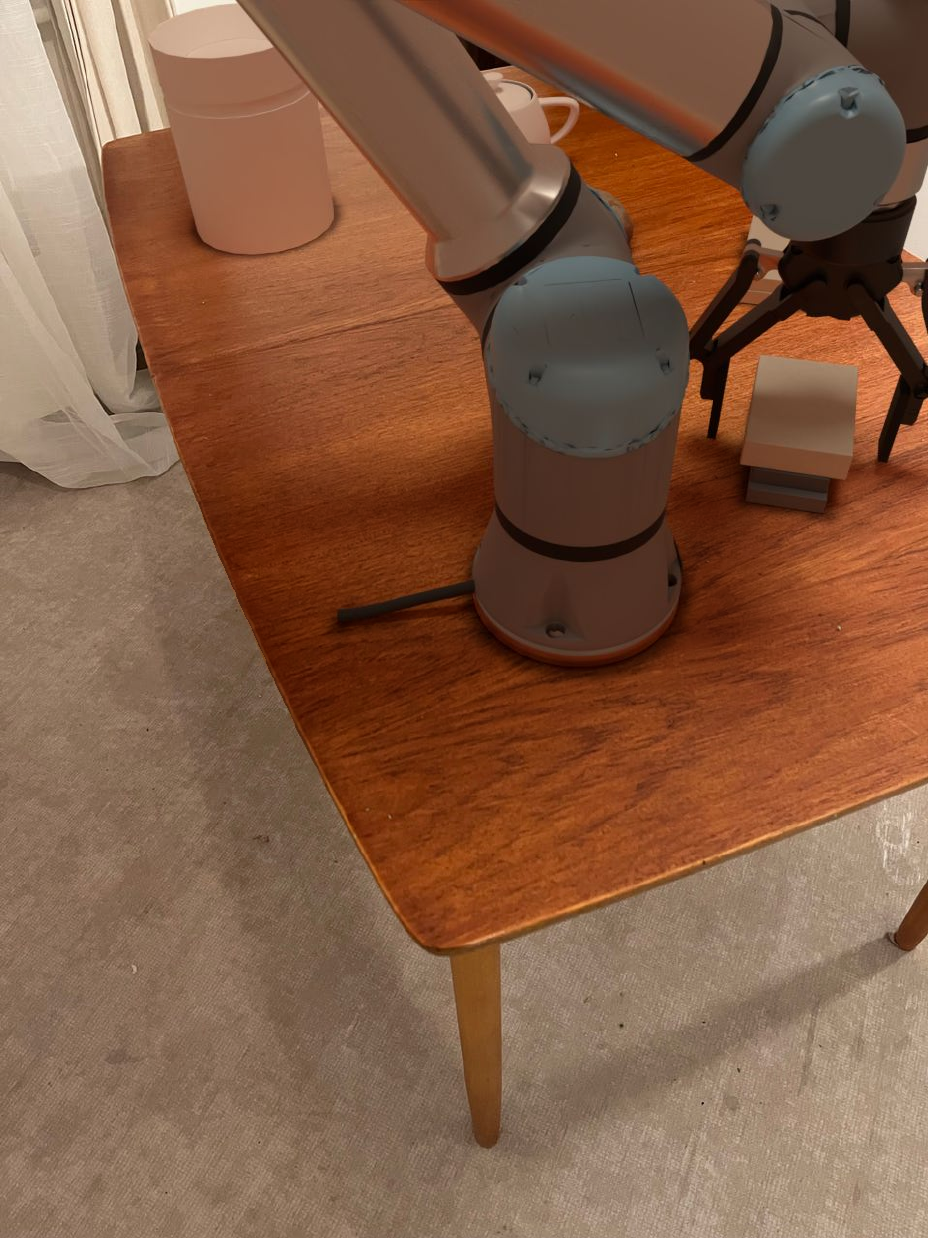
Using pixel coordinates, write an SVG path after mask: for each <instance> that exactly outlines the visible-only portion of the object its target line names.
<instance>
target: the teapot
mask: <svg viewBox="0 0 928 1238" xmlns="http://www.w3.org/2000/svg"><path fill="white" fill-rule="evenodd" d="M482 75H483V76H484V78H485V79H486V81H487V82H488V83H489V85H490V86H491V88H492V89H493V91H494V92H495V94H496V95H497V97H498V98H499V100H500V101H501V103H502V104H503V105H504V107H505V108H506V110H507V111H508V113H509V114H510V116H511V117H512V119H513V120H514V122H515V123H516V125H517V126H518V128H519V129H520V130H521V132H522V133H523V135H524V136H525V138H526V139H527V141H528V142H529V143H537V144H552V145H557V144H558V143H559V142H561V141H562V140H563V139H565V137H567V136H568V135H569V133H570V132H572V130H573V129H574V127H575V125H577V122H578V119H579V116H580V104H579V102H578V101H577V100H576V99H574V98H572V97H570V96H550V97H549V96H547V97H538V95H537V93H536V91H535V89H534V88H533V87H531V86H530V85H528V84H526V83H524V82H521V81H517V80H513V79H506V78H505V79H504V75H503V74H502V73H501V72H496V71H491V72H486V73H483V74H482ZM554 106H563V107H568V108H569V109H570V110H569V115H568V118H567V120H566V121H565V123H564V124H563V126H561V128H560V129H559V130H558V131H556V133H554V134H553V135H551V132H550V126H549V122H548V119H547V116H546V113H545V111H544V107H554Z"/></svg>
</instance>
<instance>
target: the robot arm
mask: <svg viewBox="0 0 928 1238" xmlns="http://www.w3.org/2000/svg"><path fill="white" fill-rule="evenodd" d="M235 2H236V3H238V4H239V5H240V6H241V8H242V9H243V10H244V11H245V13H246V14H247V15H248V16H249V17H250V19H251V20H252V21H253V22H254V24H255V25H256V26H257V27H258V28H259V30H260V31H261V32H262V33H263V35H264V36H265V37H266V38H267V39H268V41H269V42H270V43H271V44H272V45H273V47H274V48H275V49H276V50H277V52H278V53H279V54H280V55H281V56H282V58H283V59H284V60H285V61H286V63H287V64H288V65H289V66H290V67H291V69H292V70H293V71H294V72H295V73H296V75H297V76H298V77H299V78H300V80H301V81H302V82H303V83H304V84H305V86H306V87H307V88H308V89H309V91H310V92H311V93H312V94H313V95H314V97H315V98H316V99H317V100H318V104H319V105H321V107H322V108H323V109H324V110H325V112H327V114H328V115H329V116H330V118H331V119H332V120H333V121H334V123H335V124H336V125H337V126H338V127H339V128H340V130H341V131H342V132H343V133H344V134H345V136H346V137H347V138H348V139H349V141H350V142H351V143H352V144H353V145H354V147H355V148H356V149H357V150H358V151H359V153H360V154H361V155H362V157H363V158H364V159H365V160H366V161H367V163H368V164H369V165H370V166H371V167H372V169H373V170H374V171H375V172H376V174H377V175H378V176H379V178H381V179H382V181H383V182H384V183H385V185H387V187H388V188H389V189H390V190H391V192H392V193H393V194H394V195H395V197H396V198H397V199H398V200H399V201H400V203H401V204H402V206H403V207H405V209H406V210H407V211H408V213H409V214H410V215H411V216H412V218H414V220H415V221H416V222H417V223H418V225H419V226H420V227H421V228H422V230H423V231H424V232H425V234H427V235H426V244H425V251H424V252H425V253H424V263H425V267H426V269H427V271H428V272H429V273H430V275H431V276H432V277H433V278H434V280H435V281H436V282H437V283H438V285H440V287H441V288H442V289H443V291H445V293H446V294H447V295H448V296H449V298H451V300H452V301H453V302H454V304H456V306H457V307H458V308H459V309H460V310H461V312H462V313H463V315H465V316H466V318H467V319H468V320H469V322H470V323H471V324H472V325H473V327H474V330H475V331H476V333H477V334H478V337H479V342H480V349H481V358H482V362H483V369H484V376H485V383H486V388H487V390H486V391H487V395H488V400H489V401H488V402H489V409H490V419H491V433H492V435H491V436H492V460H493V462H492V463H493V491H494V508H493V511H492V513H491V515H490V519H489V522H488V524H487V528H486V529H485V532H484V535H483V537H482V538H481V541H480V543H479V545H478V547H477V548H476V552H475V554H474V557H473V560H472V566H471V580H467V581H462V582H458V583H453V584H450V585H445V586H441V587H437V588H432V589H427V590H424V591H419V592H416V593H412V594H407V595H404V596H400V597H397V598H393V599H389V600H386V601H381V602H377V603H372V604H368V605H364V606H357V607H350V608H341V609H337V610H336V617H337V622H338V623H345V622H353V621H360V620H365V619H371V618H375V617H380V616H384V615H388V614H392V613H396V612H399V611H403V610H407V609H410V608H415V607H418V606H423V605H426V604H431V603H434V602H439V601H443V600H447V599H452V598H453V599H454V598H456V597H461V596H465V595H470V594H472V599H473V603H474V607H475V610H476V612H477V614H478V616H479V618H480V620H481V622H482V623H483V624H484V626H485V628H486V629H487V630H488V631H489V632H490V633H491V634H492V636H494V638H496V639H497V640H498V641H499V642H501V643H502V644H503V645H505V646H506V647H508V648H509V649H511V650H512V651H514V652H516V653H518V654H519V655H522V656H524V657H526V658H529V659H532V660H535V661H538V662H540V663H545V664H549V665H555V666H559V667H560V666H561V667H572V668H587V667H597V666H604V665H609V664H613V663H617V662H620V661H623V660H626V659H628V658H631V657H633V656H635V655H637V654H639V653H642V651H644V650H646V649H647V648H649V647H650V646H652V645H653V644H654V643H655V642H657V641H658V640H659V639H660V637H662V636H663V635H664V633H665V632H666V631H667V630H668V628H669V627H670V625H671V623H672V622H673V620H674V617H675V615H676V613H677V610H678V605H679V601H680V595H681V587H682V577H684V563H683V559H682V556H681V553H680V551H679V548H678V545H677V542H676V538H675V535H674V534H673V535H672V533H671V529H670V525H669V523H668V519H667V516H666V512H667V506H668V505H667V504H668V500H669V493H670V486H671V481H672V474H673V468H674V460H675V455H676V448H677V440H678V435H679V428H680V421H681V415H682V409H683V402H684V398H685V397H686V392H687V389H688V387H689V381H690V366H691V361H692V360H695V361H698V362H699V363H700V364H701V365H702V376H701V381H700V389H699V396H700V399H701V400H704V401H705V400H706V401H712V404H711V409H710V414H709V415H710V416H709V421H708V427H707V434H706V439H709V440H717V437H718V436H717V435H718V430H719V426H720V421H721V415H722V409H723V405H724V399H725V398H724V397H725V393H726V392H725V391H726V387H727V382H728V377H729V376H728V375H729V370H730V364H731V363H730V362H731V359H732V357H735V355H737V354H738V353H740V352H741V351H742V350H743V349H744V348H746V347H747V346H749V345H750V344H751V343H753V342H754V341H755V340H757V339H758V338H759V337H761V336H762V335H763V334H765V333H766V332H768V331H769V330H770V329H771V328H773V327H774V326H776V325H777V324H778V323H779V322H785V321H786V320H788V319H789V318H790V317H792V316H793V315H795V314H796V313H797V312H799V311H801V312H803V313H805V316H806V317H809V318H825V317H830V318H833V319H835V320H838V321H845V322H850V321H851V319H853V318H857V317H859V316H860V317H861V318H862V320H863V321H864V323H865V324H866V326H867V327H868V329H869V330H870V331H871V332H873V333H874V334H875V336H876V338H877V339H878V341H879V342H880V344H881V345H882V347H883V348H884V350H885V351H886V353H887V355H888V356H889V357H890V359H891V360H892V362H893V364H894V365H895V367H896V368H897V370H898V371H899V373H900V374H899V377H898V380H897V382H896V386H895V389H894V391H893V395H892V398H891V401H890V404H889V407H888V410H887V413H886V416H885V419H884V422H883V425H882V428H881V430H880V434H879V438H878V440H877V458H876V459H877V460H876V461H877V463H882V464H883V463H884V464H888V462H889V459H890V457H891V454H892V450H893V447H894V445H895V441H896V438H897V435H898V434H899V430H900V427H901V425H903V426H910V427H912V426H914V424H915V423H916V422H917V421H918V418H919V416H920V412H921V410H922V406H923V404H924V401H925V400H927V399H928V363H927V361H926V360H925V358H924V357H923V355H922V353H921V352H920V351H919V349H918V347H917V345H916V344H915V342H914V340H913V339H912V338H911V336H910V334H909V333H908V330H907V329H906V328H905V326H904V325H903V323H902V321H901V320H900V319H899V316H898V315H897V313H896V312H895V310H894V308H893V307H892V306H891V303H890V300H889V297H888V296H887V295H889V294H890V293H891V292H892V291H894V290H895V289H896V288H898V286H899V285H900V284H901V283H905V284H907V285H908V286H909V291H910V293H911V294H912V295H913V296H915V297H917V298H920V299H921V300H920V303H921V305H920V306H921V314H922V318H923V322H924V325H925V331H926V334H927V335H928V257H927V258H926V259H925V261H903V258H902V255H903V251H904V247H905V243H906V241H907V237H908V233H909V230H910V226H911V224H912V221H913V217H914V214H915V210H916V207H917V203H918V200H917V196H916V195H917V193H919V192H920V190H921V189H922V187H923V185H924V181H925V177H926V174H927V170H928V0H235ZM458 37H459V38H462V39H463V40H466V41H467V42H469V43H471V44H473V45H475V46H477V48H478V47H479V48H480V49H482V50H484V51H486V52H487V53H489V54H490V55H493V56H495V57H497V58H499V59H500V60H503V61H504V62H506V63H508V64H510V65H511V66H513V67H515V68H518V69H519V70H520V71H523V72H524V73H526V74H528V75H530V76H531V77H534V78H535V79H537V80H539V81H540V82H543V83H544V84H546V85H549V86H550V87H552V88H553V89H555V90H557V91H559V92H561V93H562V94H565V95H567V97H569V98H572V99H574V100H576V101H577V102H578V103H581V104H583V105H585V106H587V107H588V108H590V109H591V110H594V111H596V112H598V113H600V114H602V115H603V116H605V117H606V118H608V119H610V120H612V121H614V122H616V123H618V124H620V125H621V126H623V127H625V128H627V129H629V130H630V131H632V132H634V133H636V134H638V135H640V136H642V137H644V138H645V139H647V140H649V141H651V142H653V143H654V144H656V145H658V146H660V147H662V148H664V149H666V150H667V151H670V152H671V153H673V154H675V155H677V156H678V157H680V158H682V159H684V160H685V161H687V162H688V163H689V164H691V165H693V166H695V167H696V168H698V169H700V170H702V171H704V172H705V173H707V174H709V175H711V176H713V177H715V178H717V179H718V180H720V181H722V182H723V183H725V184H727V185H729V186H731V187H732V188H734V189H736V190H737V191H738V192H739V193H740V195H741V199H742V201H743V203H744V205H745V207H747V208H748V210H749V212H750V213H751V214H752V216H753V215H755V216H756V217H758V218H759V219H760V220H761V221H762V223H763V224H764V225H765V226H766V227H767V228H768V229H770V230H771V231H772V232H774V233H776V234H778V235H779V236H781V237H784V238H787V239H790V241H789V243H788V245H787V246H786V248H785V249H784V250H783V251H779V250H774V249H769V248H764V247H761V246H762V245H761V242H760V241H759V240H758V239H753V238H752V239H749V240H748V241H747V240H746V242H745V244H744V247H743V250H742V253H741V257H740V259H739V263H738V265H737V267H736V268H735V270H734V271H733V272H732V273H731V274H730V276H729V277H728V278H727V280H726V282H725V283H724V284H723V285H722V287H721V288H720V290H719V291H718V292H717V294H716V295H715V296H714V297H713V298H712V300H711V301H710V303H709V304H708V306H707V307H706V308H705V309H704V311H703V312H702V313H701V315H700V316H699V317H698V318H697V320H696V321H695V323H694V324H693V325H692V327H691V328H690V329H689V323H688V319H687V316H686V313H685V311H684V307H683V306H682V304H681V302H680V300H679V299H678V297H677V296H676V295H675V293H674V292H673V291H672V290H671V289H670V287H668V285H666V284H665V283H664V282H663V281H662V280H661V279H659V278H658V277H657V276H655V275H653V274H652V273H648V274H644V275H641V273H640V268H639V266H636V264H635V261H634V257H633V256H632V255H633V254H632V251H631V249H630V248H631V247H630V245H628V243H627V236H626V233H625V231H624V228H623V226H622V224H621V222H620V220H619V218H618V216H617V215H616V213H615V212H614V210H613V209H612V207H611V206H610V205H609V204H608V202H607V201H605V200H604V199H603V198H602V197H601V196H600V195H599V194H598V192H597V191H595V190H594V189H593V188H594V187H591V186H590V185H589V184H588V183H586V181H585V180H584V179H583V177H582V175H581V174H580V173H579V171H578V170H577V168H576V166H575V165H574V164H573V162H572V161H571V159H570V158H569V156H568V155H567V154H566V152H565V151H564V150H563V149H562V148H560V147H559V146H558V145H556V144H554V145H552V144H537V143H529V142H528V141H527V139H526V138H525V136H524V135H523V133H522V132H521V130H520V129H519V128H518V126H517V125H516V123H515V122H514V120H513V119H512V117H511V116H510V114H509V113H508V111H507V110H506V108H505V107H504V105H503V104H502V103H501V101H500V100H499V98H498V97H497V95H496V94H495V92H494V91H493V89H492V88H491V86H490V85H489V83H488V82H487V81H486V79H485V78H484V76H483V75H484V74H483V73H482V72H481V70H480V69H479V68H478V66H477V64H476V63H475V61H474V60H473V59H472V57H471V56H470V54H469V53H468V51H467V50H466V48H465V47H464V45H463V44H462V42H461V41H460V39H459V38H458ZM771 270H778V273H779V276H780V277H781V279H782V281H783V282H782V283H781V284H780V285H779V286H777V287H776V289H775V290H774V291H773V293H772V294H771V295H769V296H768V297H767V298H766V299H764V300H763V301H762V302H760V303H759V304H756V305H755V306H754V307H753V308H751V309H750V310H749V311H747V312H746V313H745V314H744V315H742V316H741V317H740V318H738V319H737V320H736V321H734V322H733V323H732V324H730V326H728V327H727V328H726V329H724V330H723V331H722V332H721V333H720V334H718V335H716V336H715V337H714V338H713V336H714V335H715V334H716V333H717V332H718V330H719V329H720V328H721V327H722V325H723V324H724V323H725V321H727V319H728V317H729V316H730V315H731V314H732V313H733V311H734V310H735V309H736V307H737V306H738V305H739V304H740V303H741V302H740V301H741V300H742V298H743V297H744V296H745V294H746V293H747V291H748V290H749V288H750V286H751V284H752V281H753V280H755V281H759V280H760V279H762V278H764V277H765V275H766V274H767V273H768V272H769V271H771Z"/></svg>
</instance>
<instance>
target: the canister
mask: <svg viewBox="0 0 928 1238" xmlns="http://www.w3.org/2000/svg"><path fill="white" fill-rule="evenodd" d="M147 42H148V46H149V50H150V55H151V58H152V62H153V65H154V70H155V73H156V77H157V81H158V84H159V87H160V88H161V92H162V96H163V104H164V108H165V112H166V114H167V115H166V116H167V119H168V123H169V127H170V131H171V135H172V139H173V143H174V146H175V151H176V155H177V159H178V162H179V165H180V166H179V167H180V169H181V174H182V178H183V181H184V185H185V188H186V193H187V197H188V201H189V204H190V208H191V212H192V215H193V220H194V224H195V227H196V232H197V233H198V235H199V237H200V238H201V240H202V242H203V243H205V244H206V245H208V246H210V247H211V248H214V250H218V251H222V252H226V253H230V254H235V255H237V254H238V255H254V256H255V255H265V254H273V253H279V252H283V251H287V250H290V249H294V248H298V247H301V246H303V245H305V244H308V243H309V242H311V241H314V240H315V239H317V238H318V237H320V236H321V235H322V234H324V233H325V232H326V231H328V229H329V228H330V227H331V225H332V223H333V221H334V220H335V210H334V209H335V208H334V202H333V195H332V188H331V181H330V175H329V169H328V162H327V155H326V147H325V142H324V134H323V127H322V121H321V114H320V107H319V101H318V100H317V99H316V98H315V97H314V95H313V94H312V93H311V92H310V91H309V89H308V88H307V87H306V86H305V84H304V83H303V82H302V81H301V80H300V78H299V77H298V76H297V75H296V73H295V72H294V71H293V70H292V69H291V67H290V66H289V65H288V64H287V63H286V61H285V60H284V59H283V58H282V56H281V55H280V54H279V53H278V52H277V50H276V49H275V48H274V47H273V45H272V44H271V43H270V42H269V41H268V39H267V38H266V37H265V36H264V35H263V33H262V32H261V31H260V30H259V28H258V27H257V26H256V25H255V24H254V22H253V21H252V20H251V19H250V17H249V16H248V15H247V14H246V13H245V11H244V10H243V9H242V8H241V6H240V5H239V4H238V3H237V2H236V3H226V4H217V5H216V4H215V5H211V6H206V7H201V8H196V9H193V10H189V11H186V12H183V13H180V14H176V15H174V16H172V17H170V18H168V19H166V20H164V21H162V22H160V23H158V24H157V25H156V26H155V27H154V28H153V29H152V30H150V32H149V35H148V41H147Z"/></svg>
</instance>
